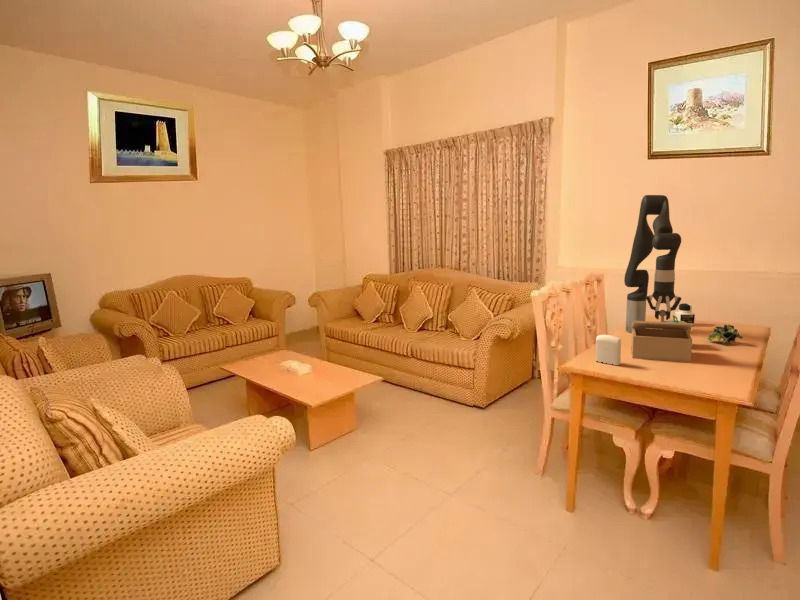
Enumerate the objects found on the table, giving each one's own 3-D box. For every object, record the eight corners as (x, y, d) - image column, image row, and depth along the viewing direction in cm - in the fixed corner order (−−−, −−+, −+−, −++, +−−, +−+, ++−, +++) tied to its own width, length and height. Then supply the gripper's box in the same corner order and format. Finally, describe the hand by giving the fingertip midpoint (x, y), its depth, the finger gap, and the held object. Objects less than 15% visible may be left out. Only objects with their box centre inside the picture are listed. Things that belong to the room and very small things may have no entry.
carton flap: (631, 327, 214) (632, 314, 215) (687, 330, 204) (687, 316, 205) (633, 322, 199) (633, 308, 200) (693, 325, 190) (693, 310, 191)
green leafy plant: (727, 353, 218) (747, 334, 213) (723, 354, 210) (743, 335, 205) (706, 336, 224) (725, 318, 219) (701, 337, 217) (721, 318, 211)
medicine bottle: (680, 326, 249) (681, 305, 247) (674, 323, 256) (675, 302, 254) (694, 326, 248) (695, 305, 245) (688, 323, 254) (689, 302, 252)
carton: (631, 348, 215) (632, 327, 214) (685, 351, 206) (686, 330, 204) (632, 357, 201) (633, 336, 199) (690, 362, 192) (692, 339, 190)
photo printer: (593, 361, 198) (594, 334, 196) (597, 359, 201) (598, 332, 199) (618, 366, 191) (619, 338, 189) (621, 363, 194) (623, 336, 192)
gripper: (682, 279, 195) (679, 318, 198) (645, 278, 201) (643, 316, 204) (684, 281, 188) (682, 322, 191) (646, 280, 194) (644, 320, 197)
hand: (662, 319), depth 197 cm, fingers closed on carton flap, 3 cm apart
